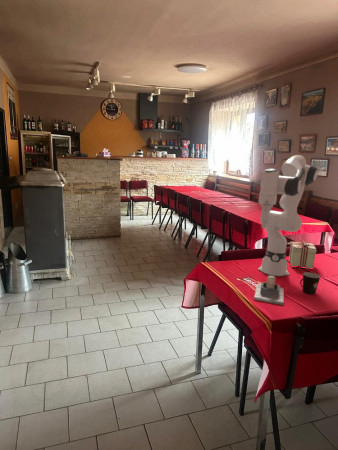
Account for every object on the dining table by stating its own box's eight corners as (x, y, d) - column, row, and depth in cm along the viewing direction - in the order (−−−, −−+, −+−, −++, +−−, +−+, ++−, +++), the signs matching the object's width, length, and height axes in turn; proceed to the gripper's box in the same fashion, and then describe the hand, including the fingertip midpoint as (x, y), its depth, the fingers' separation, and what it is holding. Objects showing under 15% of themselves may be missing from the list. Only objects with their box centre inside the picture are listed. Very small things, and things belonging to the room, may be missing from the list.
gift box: (282, 260, 239) (285, 237, 236) (309, 263, 237) (313, 240, 233) (286, 268, 223) (290, 243, 219) (315, 271, 220) (319, 246, 217)
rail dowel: (265, 290, 177) (267, 275, 176) (273, 291, 176) (275, 276, 175) (265, 293, 174) (267, 277, 172) (273, 294, 173) (275, 279, 171)
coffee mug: (312, 289, 187) (315, 272, 185) (320, 296, 179) (323, 278, 177) (292, 288, 187) (295, 271, 185) (299, 295, 178) (301, 277, 176)
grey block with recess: (257, 286, 187) (258, 277, 186) (283, 290, 183) (284, 282, 182) (254, 299, 168) (255, 290, 167) (283, 305, 164) (284, 295, 163)
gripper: (273, 203, 163) (269, 230, 165) (274, 199, 182) (271, 223, 184) (259, 201, 164) (256, 229, 167) (262, 197, 184) (259, 222, 186)
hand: (264, 226), depth 176 cm, fingers open, 8 cm apart
